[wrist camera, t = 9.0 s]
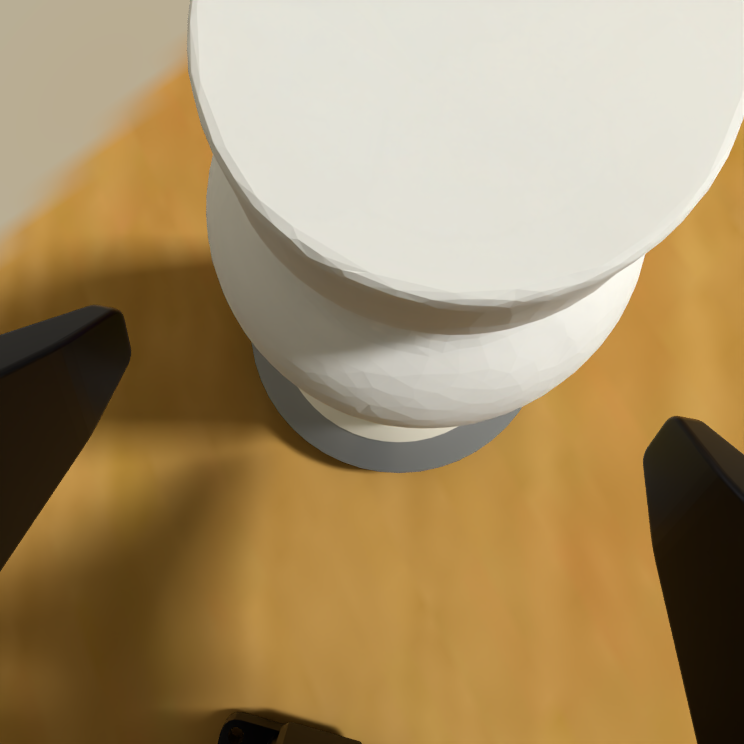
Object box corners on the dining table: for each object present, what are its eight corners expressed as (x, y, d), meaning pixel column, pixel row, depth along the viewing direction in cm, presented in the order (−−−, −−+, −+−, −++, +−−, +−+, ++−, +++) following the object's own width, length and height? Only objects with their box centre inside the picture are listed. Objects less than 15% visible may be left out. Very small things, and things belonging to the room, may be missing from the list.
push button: (501, 502, 17) (509, 507, 16) (224, 429, 18) (214, 429, 17) (563, 231, 18) (575, 219, 17) (299, 167, 19) (294, 151, 17)
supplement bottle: (258, 303, 17) (-100, -78, 4) (417, 194, 17) (542, -461, 4) (373, 467, 16) (372, 619, 4) (534, 350, 17) (1063, 106, 4)
